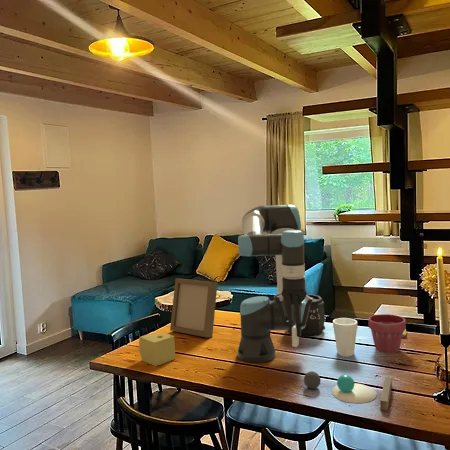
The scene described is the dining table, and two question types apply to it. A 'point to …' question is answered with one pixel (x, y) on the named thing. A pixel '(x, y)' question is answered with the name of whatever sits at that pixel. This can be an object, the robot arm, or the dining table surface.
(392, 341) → the plant pot
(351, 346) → the foam cup
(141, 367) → the dining table surface
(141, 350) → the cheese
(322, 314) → the black lettered pot
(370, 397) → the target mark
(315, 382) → the gray ball
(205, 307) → the photo frame
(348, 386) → the object ball
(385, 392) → the rail
